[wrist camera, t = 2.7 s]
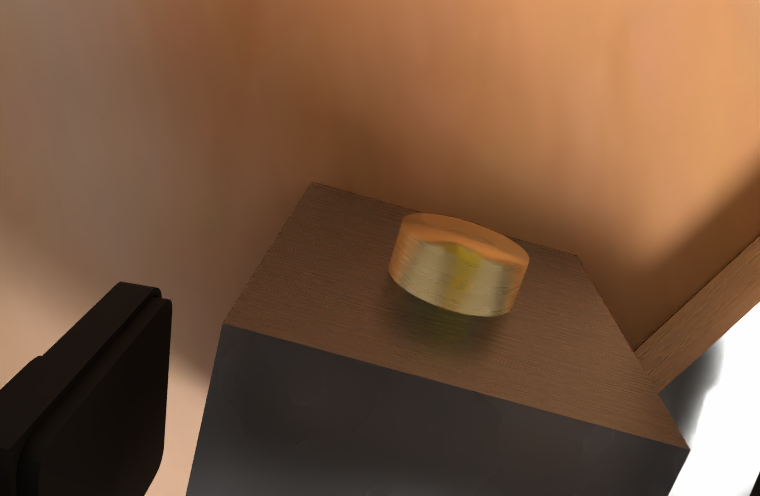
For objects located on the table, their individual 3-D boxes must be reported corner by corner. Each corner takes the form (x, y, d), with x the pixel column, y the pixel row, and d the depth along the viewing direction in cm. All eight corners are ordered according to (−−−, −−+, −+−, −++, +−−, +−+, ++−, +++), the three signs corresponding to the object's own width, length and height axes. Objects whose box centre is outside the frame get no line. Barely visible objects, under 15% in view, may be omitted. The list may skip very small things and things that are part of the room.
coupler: (480, 500, 15) (512, 805, 9) (249, 438, 15) (139, 711, 9) (589, 219, 13) (718, 393, 7) (321, 144, 13) (236, 261, 7)
